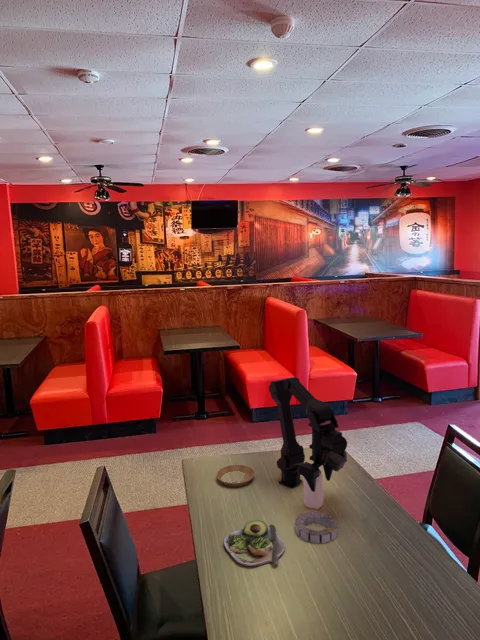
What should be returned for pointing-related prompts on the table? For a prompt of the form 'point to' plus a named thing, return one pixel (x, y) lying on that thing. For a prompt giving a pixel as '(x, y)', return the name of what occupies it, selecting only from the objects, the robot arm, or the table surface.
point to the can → (314, 494)
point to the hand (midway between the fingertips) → (320, 485)
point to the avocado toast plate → (255, 543)
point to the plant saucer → (245, 469)
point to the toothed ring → (316, 535)
